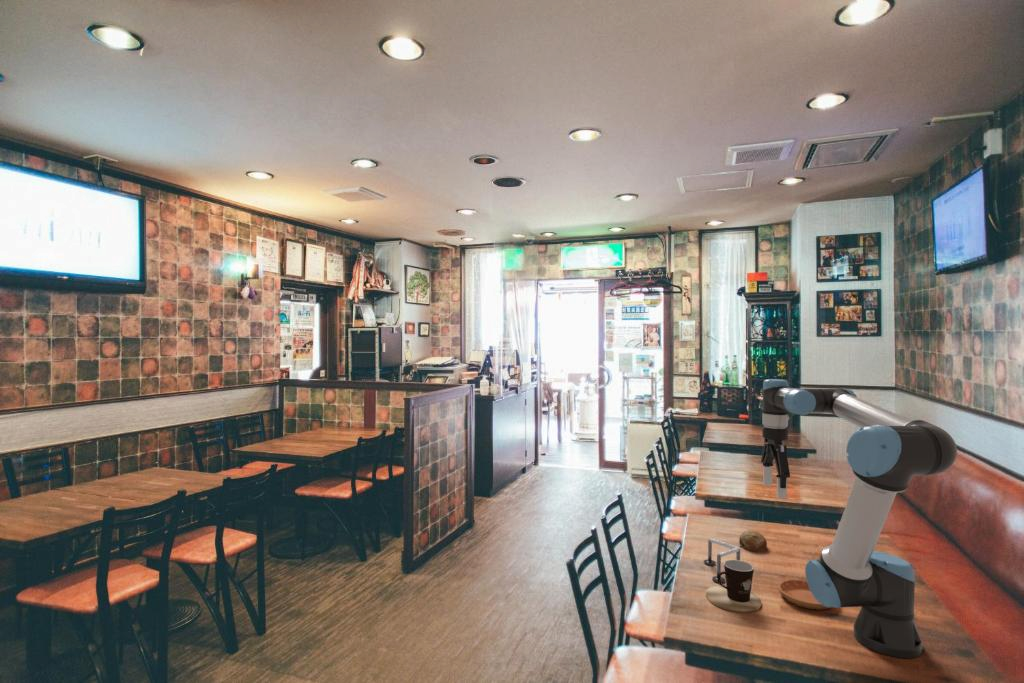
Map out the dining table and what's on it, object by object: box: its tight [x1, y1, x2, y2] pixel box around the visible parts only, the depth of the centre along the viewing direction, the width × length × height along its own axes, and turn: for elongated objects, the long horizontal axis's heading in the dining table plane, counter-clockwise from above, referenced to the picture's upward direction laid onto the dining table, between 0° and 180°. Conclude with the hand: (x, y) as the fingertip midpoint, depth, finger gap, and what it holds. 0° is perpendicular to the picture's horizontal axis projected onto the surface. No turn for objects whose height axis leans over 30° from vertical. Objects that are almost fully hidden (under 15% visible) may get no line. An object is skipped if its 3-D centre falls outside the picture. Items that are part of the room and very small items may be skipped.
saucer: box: [778, 579, 831, 611], centre depth 168 cm, size 16×16×3 cm
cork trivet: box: [705, 584, 762, 614], centre depth 168 cm, size 16×16×1 cm
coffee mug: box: [717, 559, 755, 602], centre depth 168 cm, size 12×9×10 cm
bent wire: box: [703, 537, 741, 584], centre depth 187 cm, size 18×12×9 cm, turn 171°
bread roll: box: [738, 530, 768, 552], centre depth 211 cm, size 10×10×8 cm
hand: (774, 491), depth 175 cm, fingers open, 13 cm apart
